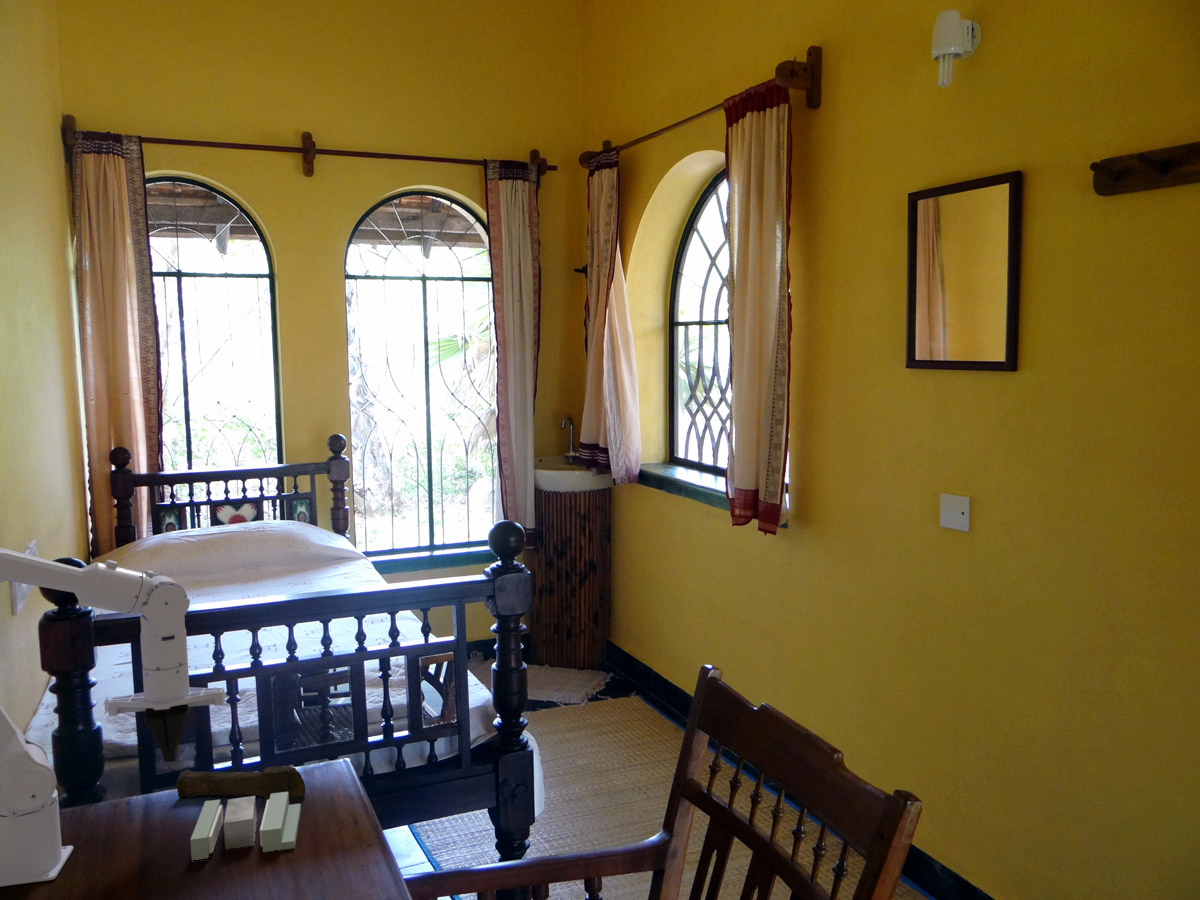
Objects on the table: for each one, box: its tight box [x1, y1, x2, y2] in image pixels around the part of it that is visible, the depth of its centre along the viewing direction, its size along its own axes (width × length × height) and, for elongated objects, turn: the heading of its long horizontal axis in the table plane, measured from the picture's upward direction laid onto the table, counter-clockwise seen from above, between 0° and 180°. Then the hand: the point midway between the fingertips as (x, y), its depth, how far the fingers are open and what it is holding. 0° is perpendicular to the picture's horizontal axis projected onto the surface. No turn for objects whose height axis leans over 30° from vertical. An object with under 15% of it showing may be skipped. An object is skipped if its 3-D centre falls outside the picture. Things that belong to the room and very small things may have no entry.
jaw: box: [190, 799, 224, 862], centre depth 128 cm, size 2×11×3 cm, turn 14°
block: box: [223, 795, 258, 849], centre depth 129 cm, size 4×7×4 cm, turn 17°
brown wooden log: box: [176, 765, 306, 800], centre depth 140 cm, size 19×4×5 cm, turn 84°
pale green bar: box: [259, 792, 302, 853], centre depth 130 cm, size 4×11×3 cm, turn 13°
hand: (171, 758), depth 131 cm, fingers closed
